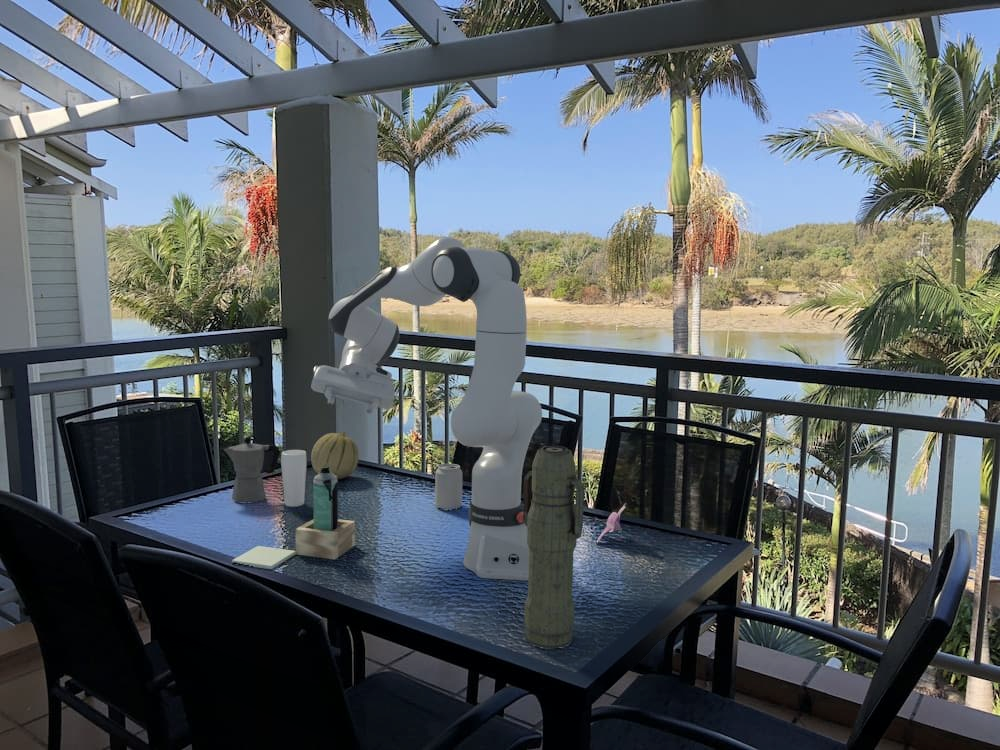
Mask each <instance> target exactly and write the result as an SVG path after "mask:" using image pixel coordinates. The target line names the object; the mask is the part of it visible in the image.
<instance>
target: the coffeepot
mask: <svg viewBox="0 0 1000 750" xmlns="http://www.w3.org/2000/svg"><path fill="white" fill-rule="evenodd" d="M251 439H252V438H251V437H250V436H247V437H244V440H245V442H244V443H241V444H237V445H233V446H228V447H225V448H224V449H223V451H224V452H225V453H226V454H227V456H228V457H229V458H230V460H231V461H232V464H233V468H234V470H233V471H235V478H234V484H233V488H232V489H233V491H232V496H231V499H232V501H233V500H234V501H235V502H234V501H233V502H234V503H237V502H246V503H245V504H249V503H248V502H255V503H257V502H256V501H259V502H262V501H263V500H262V499H264V498H265V499H266V491H265V485H264V480H263V476H262V474H261V473H262V472H261V471H262V470H263V466H264V459H265V453H269V452H273V455H272V459H271V460H272V461H271V462H270V469H267V470H265V472H266V474H273V473H274V472H275V470H276V466H277V464H278V462H279V461H278V460H279V458H280V455H281V450H280V448H279V447H278V446H276V444H259V443H253V442H251ZM265 499H264V500H265ZM261 500H262V501H261Z"/></svg>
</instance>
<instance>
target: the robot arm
mask: <svg viewBox="0 0 1000 750" xmlns="http://www.w3.org/2000/svg"><path fill="white" fill-rule="evenodd" d="M520 278H521V268H520V264H519V262H518V261H517V258H515V257H514V255H512V254H510V253H508V252H506V251H503V250H499V249H496V250H493V249H487V248H482V247H478V246H476V247H475V246H473V247H472V246H469V247H468V246H467V247H466V246H465V244H463V242H461V241H460V240H459V239H457V238H455V237H452V236H442V237H440V238H438V239H436V240H435V241H434V242H432V243H431V244H429V245H428V246H427V247H425V248H424V249H423V250H422V251H421V252H419V254H418V255H417V256H416V257H415V259H414V260H412V261H411V262H409V263H407V264H404V265H400V266H388V267H387V268H385V269H383V270H381V271H380V272H379V273H378V272H377V274H375V275H373V276H372V277H371V278H370V279H369V280H368V281H366V282H365V283H363V284H362V285H360V286H359V287H358V288H357V289H356V290H354V291H353V292H351V293H350V294H348V295H346V296H344V297H342V298H340V299H339V300H338V301H337V302H336V303H335V304H334V305H333V306H332V307H331V310H330V311H329V313H328V314H329V315H328V316H327V319H328V325H329V327H330V329H331V331H332V333H334V334H337V335H339V336H341V337H343V338H346V339H347V340H346V343H345V344H344V346H343V349H342V354H341V361H340V363H339V367H338V368H337V367H333V366H329V365H324V364H322V365H321V364H320V365H315V366H314V368H313V377H312V381H311V384H310V385H311V386H310V388H311V389H312V391H313V392H317V393H320V394H324V396H325V398H326V399H327V403H326V404H330V405H334V403H335V399H336V397H337V398H339V399H345V400H348V401H352V402H356V403H360V404H365V405H367V407H366V411H365V413H366V414H370V415H373V413H374V411H375V410H376V409H378V408H380V409H383V410H390V409H391V408H392V407H393V404H394V402H395V397H396V396H395V394H396V393H395V391H396V390H395V386H394V385H395V384H394V383H393V381H392V379H393V378H392V377H393V374H392V372H389V370H386V369H384V368H382V367H380V366H378V365H377V364H381V363H382V362H385V361H387V360H388V359H389V358H390V357H391V356H392V355H393V353H394V352H395V351H396V349H397V347H398V345H399V340H400V329H399V326H398V324H397V323H396V322H394V321H392V320H391V319H389V318H388V317H386V316H384V315H382V314H381V313H379V312H377V311H376V310H374V309H372V308H370V307H369V306H370V305H371V304H372V303H374V302H375V301H377V300H378V299H383V298H385V299H386V298H388V299H392V300H397V301H401V302H403V303H406V304H409V305H411V306H416V307H429V306H433V305H434V304H436V303H438V302H440V301H441V300H442V299H443V298H444V297H445V296H446V295H447V296H449V297H452V298H454V299H457V300H458V301H460V302H462V303H465V302H467V301H468V300H470V301H471V302H472V303H473V304H474V306H475V308H476V321H475V322H476V326H475V342H474V343H475V349H474V361H473V362H474V363H473V367H472V371H471V376H470V379H469V382H468V384H467V387H466V390H465V393H464V395H463V397H462V399H461V400H460V402H458V404H457V405H456V407H454V409H453V411H452V413H451V415H450V429H451V433H452V434H453V436H454V438H455V439H456V440H457V442H459V444H462V445H463V446H465V447H472V448H482V452H481V454H480V456H479V457H478V460H476V462H475V463H474V465H473V467H472V471H471V501H470V502H469V508H468V521H469V522H468V523H469V535H468V542H467V548H466V552H465V555H464V558H463V561H462V563H463V565H464V567H465V568H467V569H468V570H469V571H471V572H473V573H475V575H476V576H477V577H478V578H482V579H492V580H493V579H494V580H507V581H508V580H511V581H527V582H528V580H529V547H528V544H527V526H526V525H525V523H524V522H523V515H524V503H523V502H522V501H521V499H522V480H523V479H522V476H523V469H524V463H525V460H526V455H527V453H528V452H527V451H528V448H529V446H530V442H531V440H532V437H533V434H534V433H535V431H536V430H537V429H538V427H539V426H540V424H541V422H542V419H543V410H542V405H541V403H540V402H539V400H538V399H537V397H536V396H534V395H533V394H531V393H530V392H528V391H526V392H525V391H523V390H522V391H521V390H513V389H514V387H515V384H516V381H517V380H518V377H519V376H520V375H521V373H523V371H524V369H525V365H526V352H527V350H526V349H527V348H526V347H527V330H528V328H527V325H528V322H527V320H528V319H527V307H526V306H527V305H526V299H525V293H524V290H523V288H522V287H521V285H519V282H520Z"/></svg>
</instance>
